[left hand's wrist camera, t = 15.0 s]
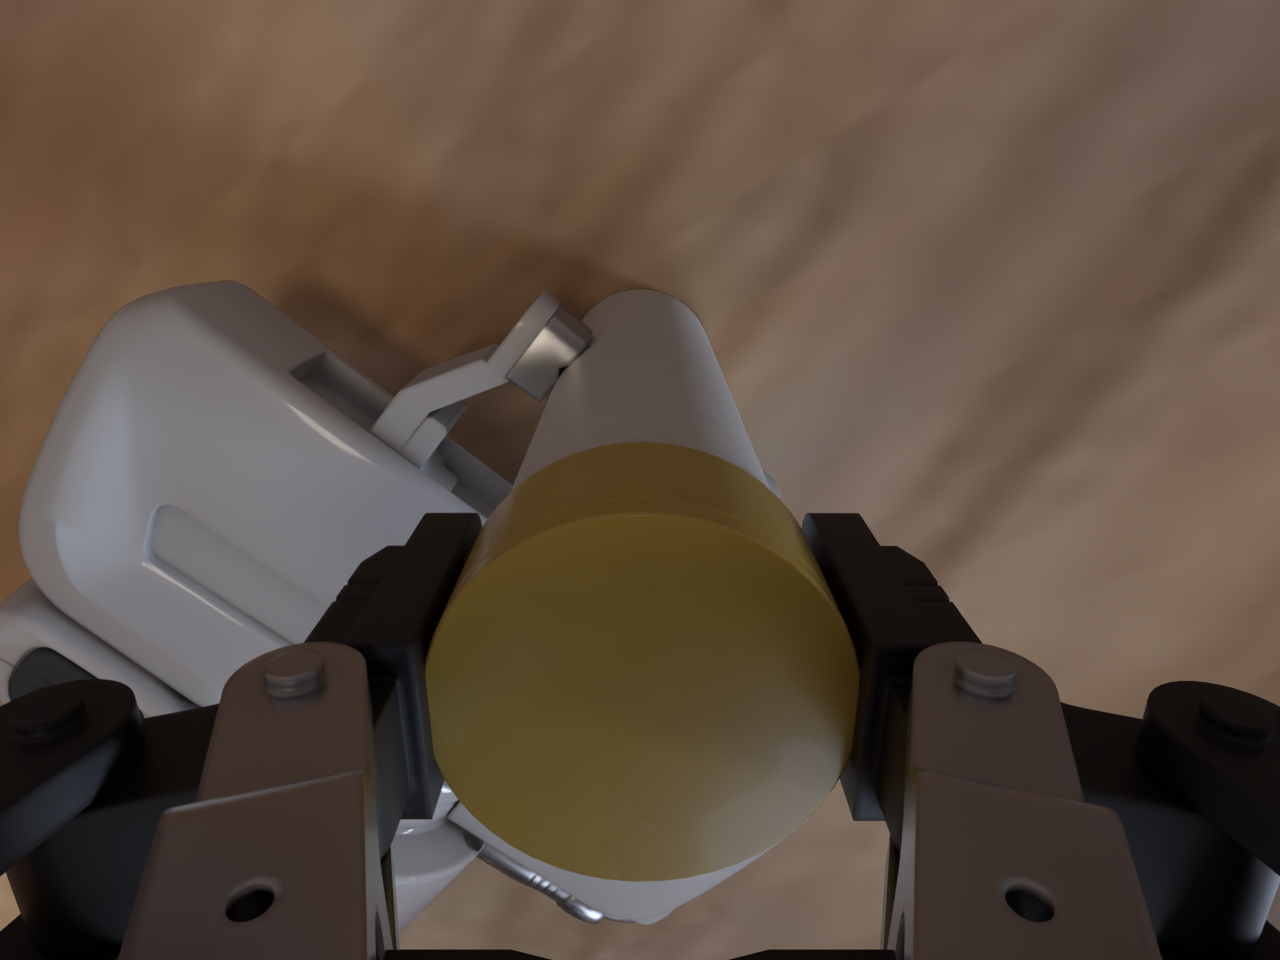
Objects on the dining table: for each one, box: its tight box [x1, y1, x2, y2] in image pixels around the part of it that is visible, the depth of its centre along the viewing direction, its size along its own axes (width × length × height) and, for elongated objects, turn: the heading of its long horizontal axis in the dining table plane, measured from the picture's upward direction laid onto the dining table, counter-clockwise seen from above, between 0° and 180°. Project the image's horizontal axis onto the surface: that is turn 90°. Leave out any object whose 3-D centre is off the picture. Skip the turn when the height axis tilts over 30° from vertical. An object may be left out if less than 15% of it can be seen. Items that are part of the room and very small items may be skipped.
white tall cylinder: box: [511, 289, 771, 491], centre depth 17 cm, size 4×4×17 cm
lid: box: [425, 442, 860, 882], centre depth 10 cm, size 5×5×2 cm
